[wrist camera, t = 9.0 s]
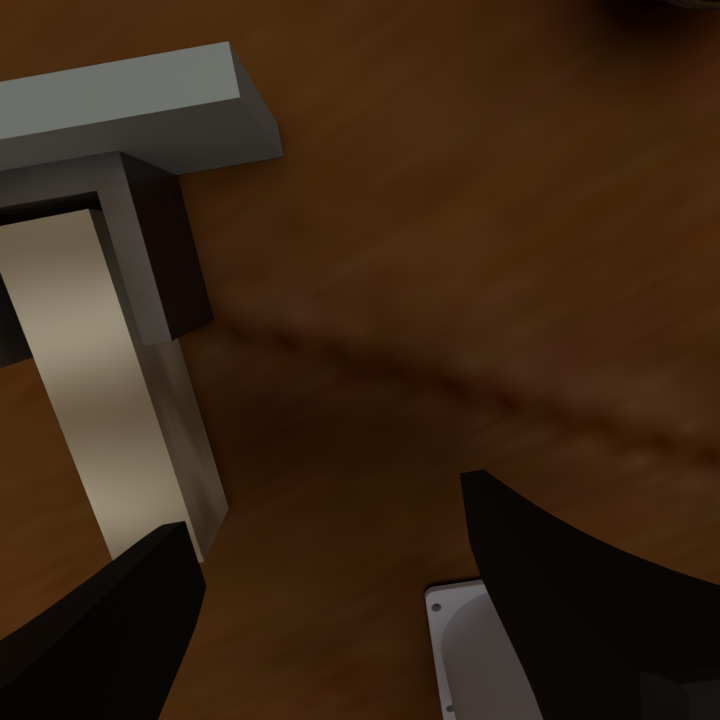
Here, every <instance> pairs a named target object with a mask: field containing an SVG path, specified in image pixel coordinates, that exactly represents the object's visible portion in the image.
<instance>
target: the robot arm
mask: <svg viewBox="0 0 720 720" xmlns="http://www.w3.org/2000/svg"><path fill="white" fill-rule="evenodd" d="M460 477H461V484H462V492H463V499H464V506H465V514H466V521H467V528H468V535H469V542H470V546H471V549H472V552H473V555H474V558H475V561H476V564H477V567H478V570H479V573H480V576H481V579H482V580H475V581H468V582H462V583H455V584H448V585H442V586H435V587H431V588H429V589H427V590H426V592H425V601H426V608H427V615H428V621H429V628H430V635H431V642H432V648H433V655H434V662H435V669H436V675H437V682H438V689H439V695H440V702H441V709H442V716H443V720H720V585H717V584H713V583H710V582H707V581H703V580H700V579H697V578H694V577H691V576H688V575H685V574H682V573H679V572H676V571H673V570H671V569H668V568H665V567H663V566H660V565H657V564H655V563H652V562H650V561H647V560H644V559H642V558H639V557H637V556H634V555H632V554H629V553H627V552H625V551H622V550H620V549H618V548H615V547H613V546H611V545H609V544H607V543H605V542H603V541H600V540H598V539H596V538H594V537H592V536H590V535H588V534H586V533H584V532H582V531H580V530H578V529H576V528H574V527H572V526H571V525H569V524H567V523H565V522H563V521H562V520H560V519H558V518H556V517H555V516H553V515H551V514H549V513H548V512H546V511H545V510H543V509H541V508H540V507H538V506H536V505H535V504H533V503H532V502H530V501H529V500H527V499H526V498H524V497H523V496H521V495H520V494H518V493H517V492H515V491H514V490H512V489H511V488H509V487H508V486H507V485H505V484H504V483H502V482H501V481H499V480H498V479H497V478H495V477H494V476H492V475H491V474H490V473H488V472H487V471H485V470H478V471H473V472H467V473H461V474H460ZM205 589H206V584H205V581H204V578H203V574H202V571H201V568H200V565H199V562H198V559H197V556H196V553H195V550H194V547H193V544H192V541H191V537H190V534H189V531H188V528H187V525H186V522H185V521H181V522H175V523H169V524H163V525H161V526H159V527H158V528H156V529H155V530H153V531H152V532H150V533H149V534H147V535H146V536H145V537H143V538H142V539H140V540H139V541H138V542H136V543H135V544H134V545H132V546H131V547H130V548H128V549H127V550H126V551H125V552H123V553H122V554H121V555H119V556H118V557H117V558H115V559H114V560H113V561H112V562H110V563H109V564H108V565H106V566H105V567H104V568H102V569H101V570H100V571H99V572H97V573H96V574H95V575H93V576H92V577H91V578H89V579H88V580H87V581H85V582H84V583H83V584H81V585H80V586H79V587H77V588H76V589H74V590H73V591H72V592H70V593H69V594H68V595H66V596H65V597H63V598H62V599H61V600H59V601H58V602H57V603H55V604H54V605H52V606H51V607H50V608H48V609H47V610H46V611H44V612H43V613H41V614H40V615H38V616H37V617H36V618H34V619H33V620H31V621H30V622H28V623H27V624H25V625H24V626H22V627H21V628H19V629H18V630H16V631H15V632H13V633H12V634H10V635H8V636H7V637H5V638H4V639H2V640H1V641H0V720H158V718H159V716H160V713H161V711H162V708H163V706H164V703H165V701H166V699H167V696H168V694H169V691H170V689H171V686H172V684H173V682H174V679H175V677H176V674H177V672H178V669H179V667H180V665H181V662H182V660H183V657H184V655H185V652H186V650H187V647H188V645H189V642H190V640H191V637H192V635H193V632H194V629H195V627H196V623H197V620H198V616H199V613H200V609H201V605H202V601H203V597H204V593H205ZM433 604H438V605H436V606H433Z"/></svg>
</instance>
